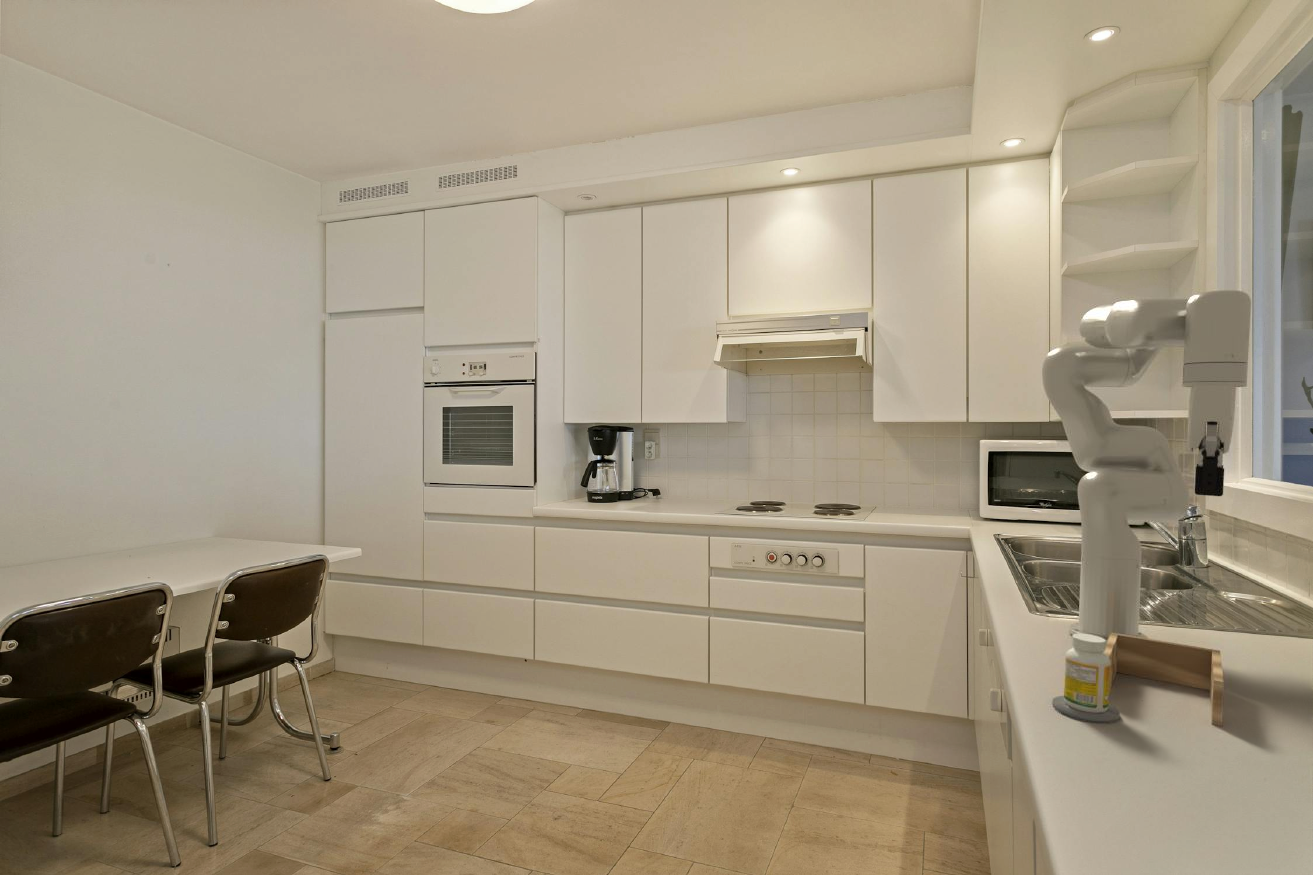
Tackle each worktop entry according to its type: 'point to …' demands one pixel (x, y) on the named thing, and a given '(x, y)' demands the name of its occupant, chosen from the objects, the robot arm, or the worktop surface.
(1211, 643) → the worktop surface
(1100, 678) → the supplement bottle
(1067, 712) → the slate coaster
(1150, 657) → the wooden u-frame
